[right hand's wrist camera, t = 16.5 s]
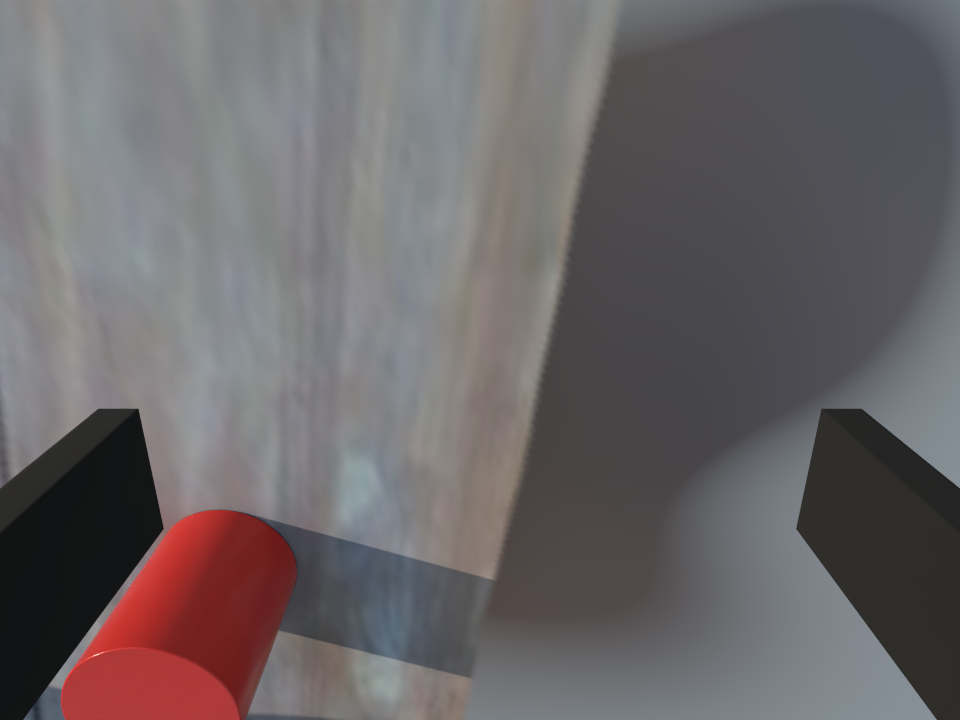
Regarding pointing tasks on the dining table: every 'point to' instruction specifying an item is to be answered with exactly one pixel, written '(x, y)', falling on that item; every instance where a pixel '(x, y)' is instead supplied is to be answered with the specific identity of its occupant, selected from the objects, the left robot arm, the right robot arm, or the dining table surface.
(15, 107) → the dining table surface
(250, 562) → the canister
